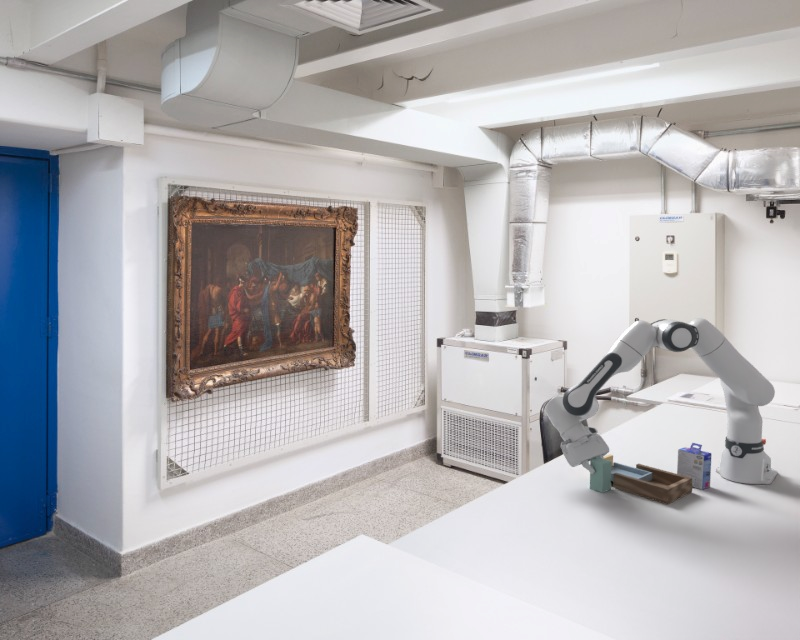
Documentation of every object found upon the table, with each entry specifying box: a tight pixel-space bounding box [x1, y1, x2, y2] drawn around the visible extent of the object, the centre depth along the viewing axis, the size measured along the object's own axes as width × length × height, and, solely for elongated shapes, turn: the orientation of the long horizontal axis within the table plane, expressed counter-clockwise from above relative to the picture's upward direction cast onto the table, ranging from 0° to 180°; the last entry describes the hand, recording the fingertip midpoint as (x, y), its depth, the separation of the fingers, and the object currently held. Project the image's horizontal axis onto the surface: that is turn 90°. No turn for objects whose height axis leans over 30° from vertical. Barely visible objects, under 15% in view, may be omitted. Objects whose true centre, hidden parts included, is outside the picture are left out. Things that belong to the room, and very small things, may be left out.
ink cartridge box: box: [676, 442, 712, 490], centre depth 227 cm, size 10×6×14 cm, turn 37°
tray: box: [603, 454, 653, 482], centre depth 232 cm, size 12×17×5 cm
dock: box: [612, 463, 693, 505], centre depth 223 cm, size 16×20×5 cm
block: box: [589, 458, 612, 493], centre depth 224 cm, size 5×5×10 cm
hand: (599, 470), depth 225 cm, fingers closed on block, 5 cm apart
